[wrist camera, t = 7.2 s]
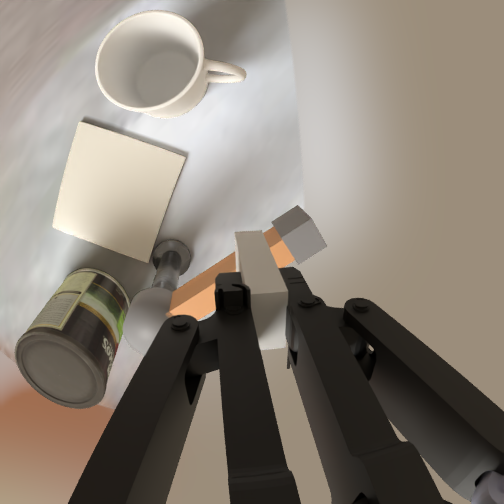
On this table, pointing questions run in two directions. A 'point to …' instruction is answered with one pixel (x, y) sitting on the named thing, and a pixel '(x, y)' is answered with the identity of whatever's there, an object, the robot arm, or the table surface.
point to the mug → (157, 65)
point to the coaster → (116, 190)
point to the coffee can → (75, 339)
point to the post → (170, 263)
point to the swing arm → (203, 286)
